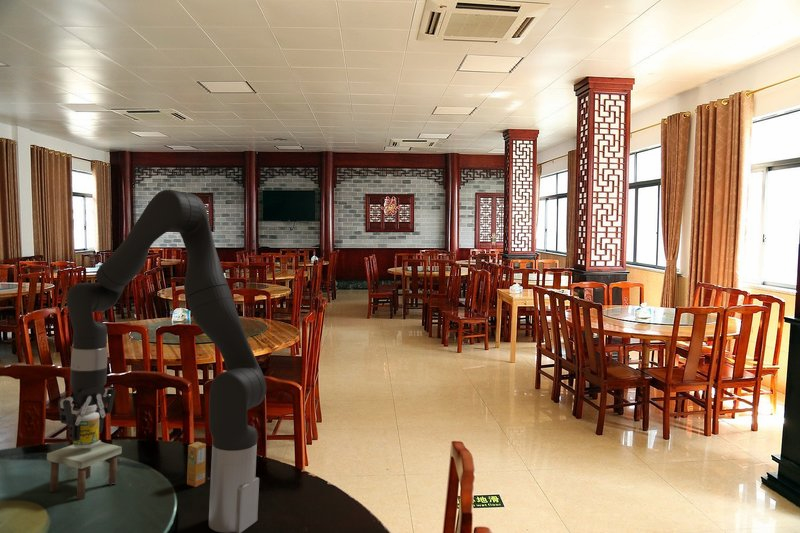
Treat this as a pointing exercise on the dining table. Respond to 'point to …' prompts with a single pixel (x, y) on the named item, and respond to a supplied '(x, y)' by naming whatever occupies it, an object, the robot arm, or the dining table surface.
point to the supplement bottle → (88, 428)
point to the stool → (83, 463)
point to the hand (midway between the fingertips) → (86, 436)
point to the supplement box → (196, 464)
